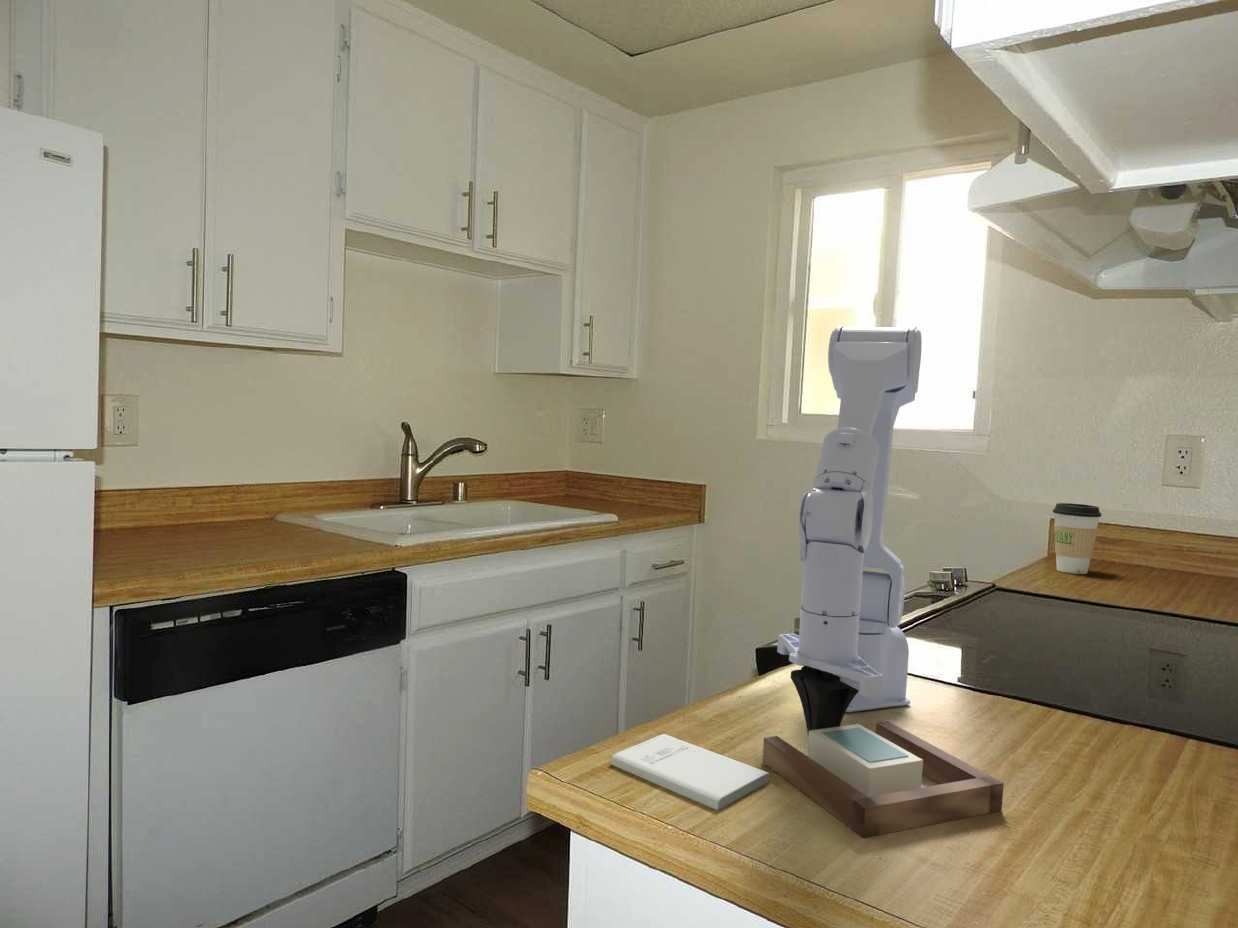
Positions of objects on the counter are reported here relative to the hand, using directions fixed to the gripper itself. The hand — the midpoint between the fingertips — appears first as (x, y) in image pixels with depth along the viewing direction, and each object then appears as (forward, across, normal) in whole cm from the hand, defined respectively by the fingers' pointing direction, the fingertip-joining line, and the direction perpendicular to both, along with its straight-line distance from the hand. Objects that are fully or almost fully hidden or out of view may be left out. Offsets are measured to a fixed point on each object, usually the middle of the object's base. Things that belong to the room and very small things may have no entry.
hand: (821, 743), depth 86 cm
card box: (+1, +6, 0) cm, 6 cm away
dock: (+1, +8, 0) cm, 8 cm away
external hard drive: (+2, 0, -15) cm, 15 cm away
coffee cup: (+1, -68, +119) cm, 137 cm away
